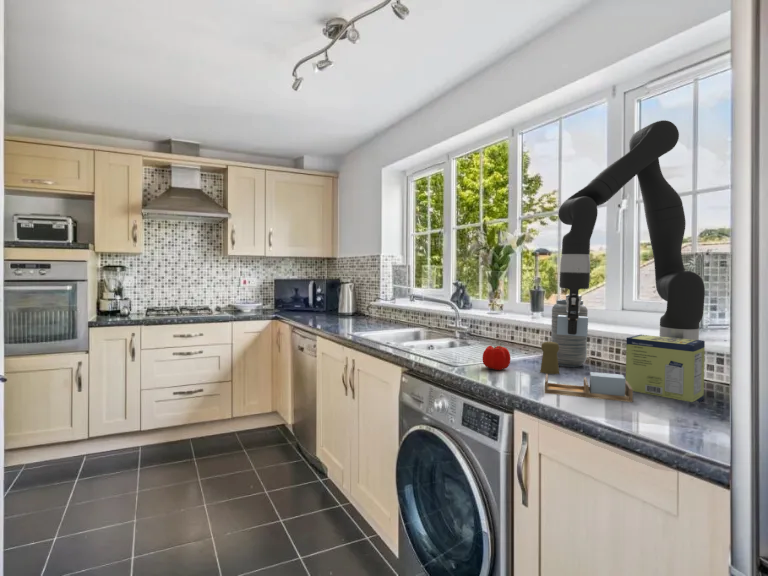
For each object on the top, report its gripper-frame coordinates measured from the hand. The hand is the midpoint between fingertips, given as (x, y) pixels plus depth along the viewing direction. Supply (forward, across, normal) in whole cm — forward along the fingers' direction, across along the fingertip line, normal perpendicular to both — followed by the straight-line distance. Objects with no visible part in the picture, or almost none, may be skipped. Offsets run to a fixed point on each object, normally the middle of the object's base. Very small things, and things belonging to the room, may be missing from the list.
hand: (572, 332), depth 119 cm
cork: (+16, +15, +6) cm, 23 cm away
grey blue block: (0, 0, 0) cm, 0 cm away
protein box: (+16, +3, -23) cm, 28 cm away
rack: (+16, -7, -4) cm, 18 cm away
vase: (+16, +37, 0) cm, 40 cm away
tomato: (+17, +19, +23) cm, 34 cm away
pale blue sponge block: (+14, -7, -9) cm, 18 cm away
